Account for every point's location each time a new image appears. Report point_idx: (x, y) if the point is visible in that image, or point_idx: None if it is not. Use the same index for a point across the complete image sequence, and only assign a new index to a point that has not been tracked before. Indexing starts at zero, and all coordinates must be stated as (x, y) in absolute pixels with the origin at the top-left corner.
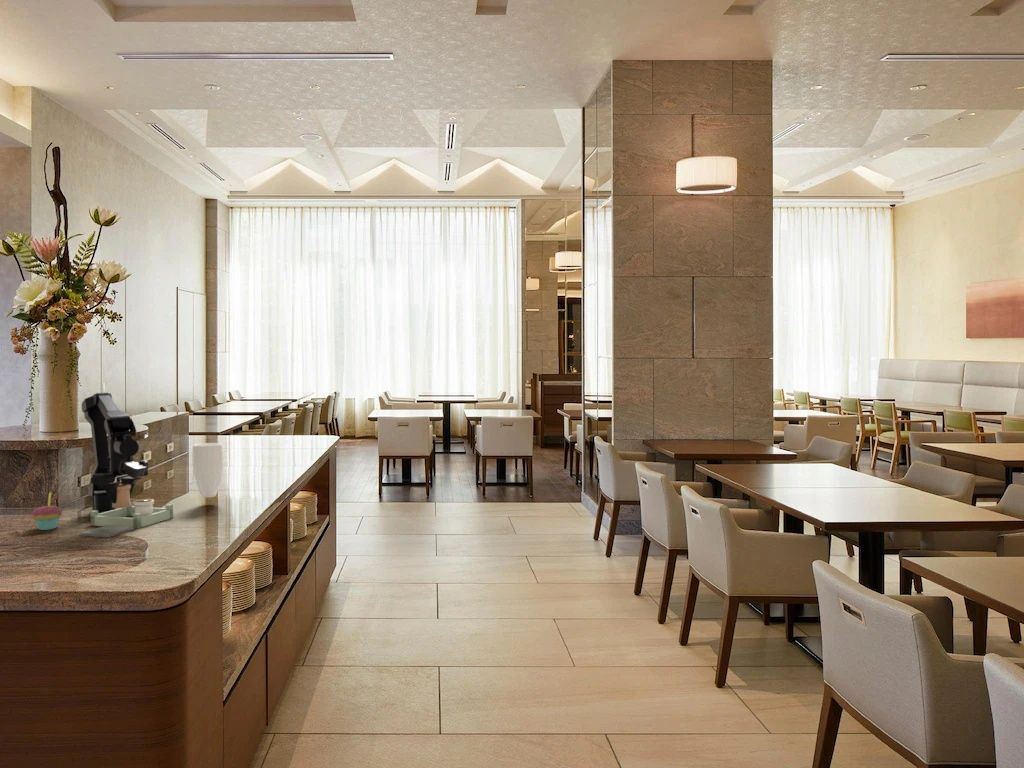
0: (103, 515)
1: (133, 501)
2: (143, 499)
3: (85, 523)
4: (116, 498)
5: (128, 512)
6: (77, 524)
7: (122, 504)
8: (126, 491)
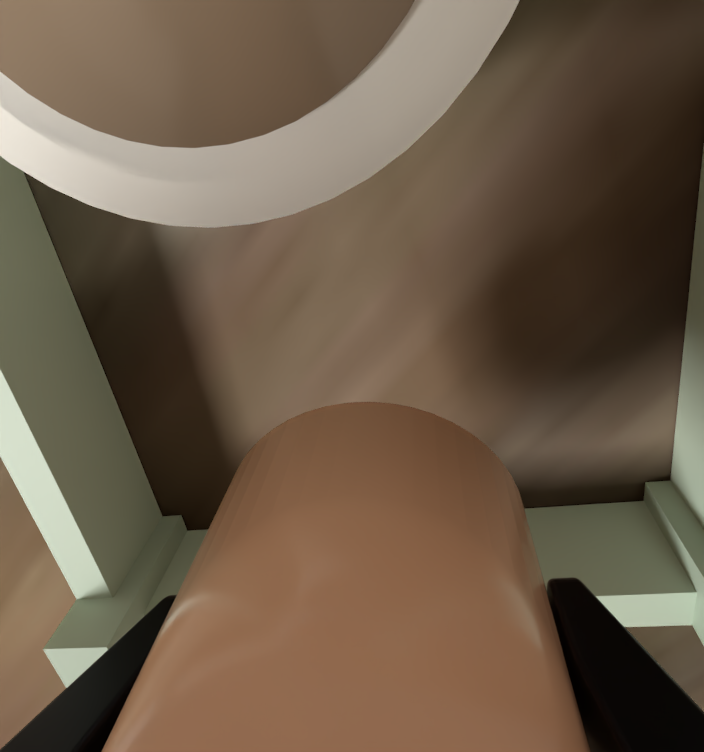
0: (558, 572)
1: (452, 96)
2: (46, 20)
3: (627, 627)
4: (591, 661)
5: (166, 546)
6: (688, 656)
7: (463, 463)
8: (319, 745)
